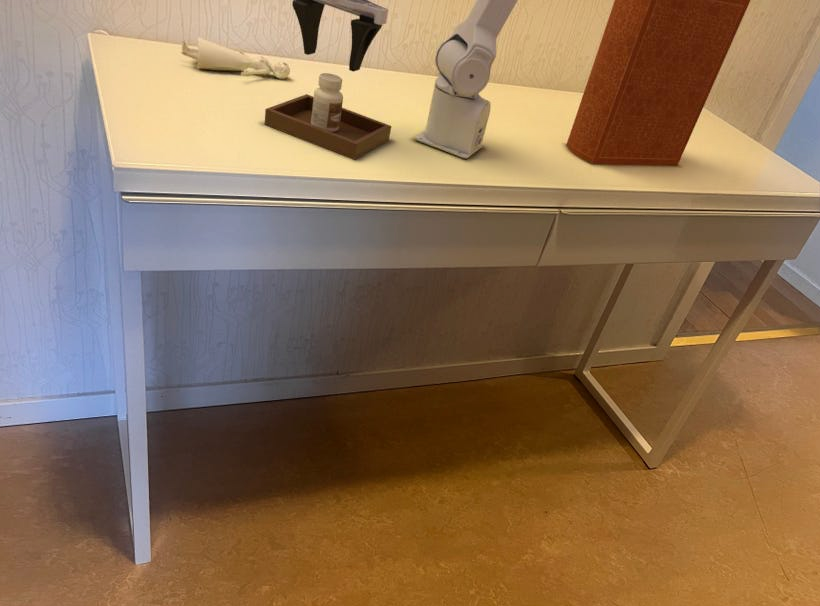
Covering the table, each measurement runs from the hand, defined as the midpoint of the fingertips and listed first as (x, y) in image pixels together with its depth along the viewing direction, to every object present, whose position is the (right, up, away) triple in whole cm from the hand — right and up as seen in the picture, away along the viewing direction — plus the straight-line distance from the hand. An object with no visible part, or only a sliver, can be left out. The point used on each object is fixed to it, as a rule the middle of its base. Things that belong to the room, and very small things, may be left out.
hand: (331, 61), depth 103 cm
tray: (-1, -9, +6) cm, 10 cm away
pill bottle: (-2, -8, +6) cm, 10 cm away
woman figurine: (-20, +6, +18) cm, 28 cm away
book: (+50, -5, +30) cm, 58 cm away
